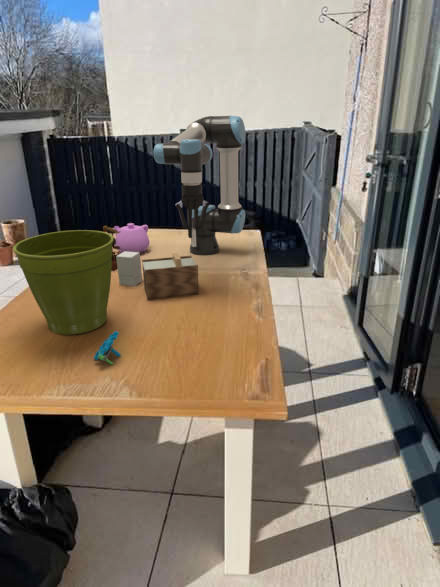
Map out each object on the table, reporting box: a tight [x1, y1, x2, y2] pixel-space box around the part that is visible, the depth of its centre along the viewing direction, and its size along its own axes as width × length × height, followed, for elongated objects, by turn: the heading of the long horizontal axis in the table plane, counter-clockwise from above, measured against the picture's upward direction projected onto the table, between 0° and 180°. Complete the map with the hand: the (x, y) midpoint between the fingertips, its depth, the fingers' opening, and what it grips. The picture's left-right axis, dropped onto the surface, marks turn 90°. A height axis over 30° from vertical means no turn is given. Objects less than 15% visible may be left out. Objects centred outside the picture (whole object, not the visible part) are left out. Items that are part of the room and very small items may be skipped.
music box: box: [102, 225, 120, 272], centre depth 193 cm, size 15×11×20 cm
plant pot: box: [12, 229, 114, 336], centre depth 138 cm, size 30×30×29 cm
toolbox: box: [141, 255, 200, 301], centre depth 167 cm, size 20×13×12 cm, turn 105°
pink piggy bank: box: [113, 222, 150, 254], centre depth 219 cm, size 20×20×15 cm
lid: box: [141, 252, 197, 271], centre depth 165 cm, size 20×11×4 cm, turn 105°
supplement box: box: [116, 251, 143, 287], centre depth 176 cm, size 7×7×13 cm
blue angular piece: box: [93, 331, 121, 366], centre depth 122 cm, size 11×6×10 cm
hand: (193, 245), depth 165 cm, fingers closed
